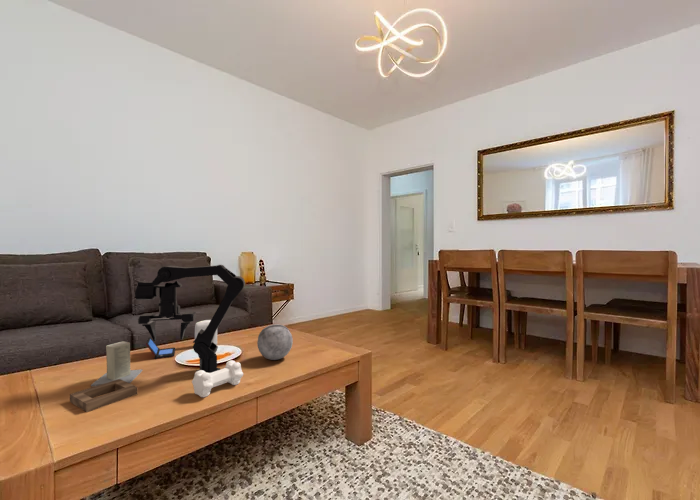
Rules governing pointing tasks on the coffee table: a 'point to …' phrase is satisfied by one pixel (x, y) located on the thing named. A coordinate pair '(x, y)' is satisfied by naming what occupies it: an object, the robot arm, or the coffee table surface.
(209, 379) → the white bone
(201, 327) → the photo printer
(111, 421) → the coffee table surface
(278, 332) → the decorative orb
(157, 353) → the handheld game console
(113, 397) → the walnut holder
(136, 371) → the slate mat
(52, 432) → the coffee table surface
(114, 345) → the skincare box
